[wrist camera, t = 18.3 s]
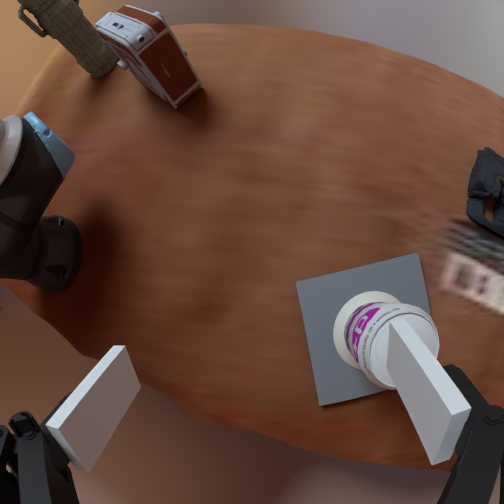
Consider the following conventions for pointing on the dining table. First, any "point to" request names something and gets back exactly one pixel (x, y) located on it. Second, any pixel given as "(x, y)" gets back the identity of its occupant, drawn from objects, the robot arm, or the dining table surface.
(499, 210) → the crumpled black cloth
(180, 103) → the cine camera
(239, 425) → the dining table surface
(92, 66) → the thermos
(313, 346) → the board
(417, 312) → the supplement can
